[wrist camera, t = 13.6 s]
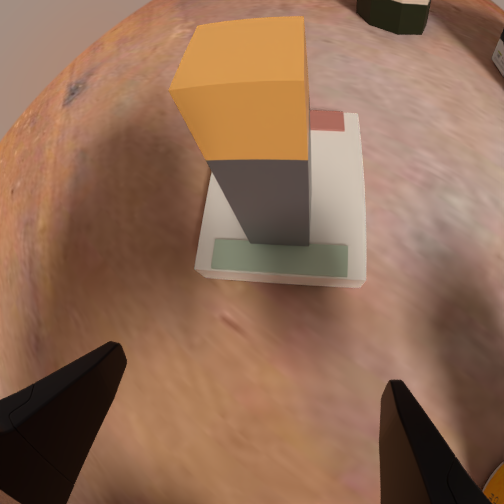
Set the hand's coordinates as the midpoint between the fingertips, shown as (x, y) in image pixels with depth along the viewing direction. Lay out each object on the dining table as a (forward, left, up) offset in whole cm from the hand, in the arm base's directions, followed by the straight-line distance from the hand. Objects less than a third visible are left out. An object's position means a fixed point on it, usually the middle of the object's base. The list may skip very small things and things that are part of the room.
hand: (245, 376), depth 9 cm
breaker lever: (+5, +6, -5) cm, 9 cm away
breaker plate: (+7, +8, -8) cm, 13 cm away
